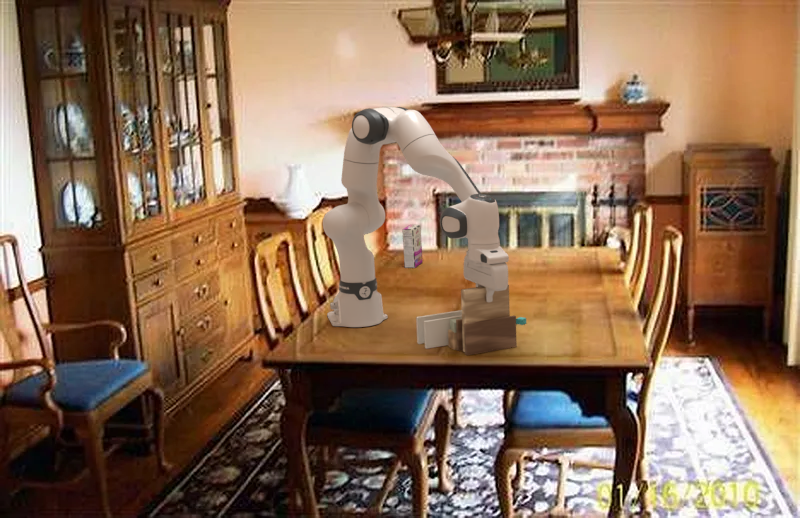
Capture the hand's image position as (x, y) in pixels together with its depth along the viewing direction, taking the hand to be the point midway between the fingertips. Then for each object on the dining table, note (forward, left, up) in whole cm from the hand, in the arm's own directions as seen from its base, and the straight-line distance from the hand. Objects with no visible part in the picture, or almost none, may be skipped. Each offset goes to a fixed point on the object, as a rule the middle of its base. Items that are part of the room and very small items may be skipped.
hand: (485, 300), depth 260 cm
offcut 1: (-6, -5, -9) cm, 12 cm away
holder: (-12, -7, -14) cm, 20 cm away
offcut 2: (-6, -5, -14) cm, 16 cm away
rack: (0, 0, -14) cm, 14 cm away
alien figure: (-21, +10, -15) cm, 28 cm away
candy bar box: (-120, +30, -14) cm, 124 cm away
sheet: (0, 0, -14) cm, 14 cm away
